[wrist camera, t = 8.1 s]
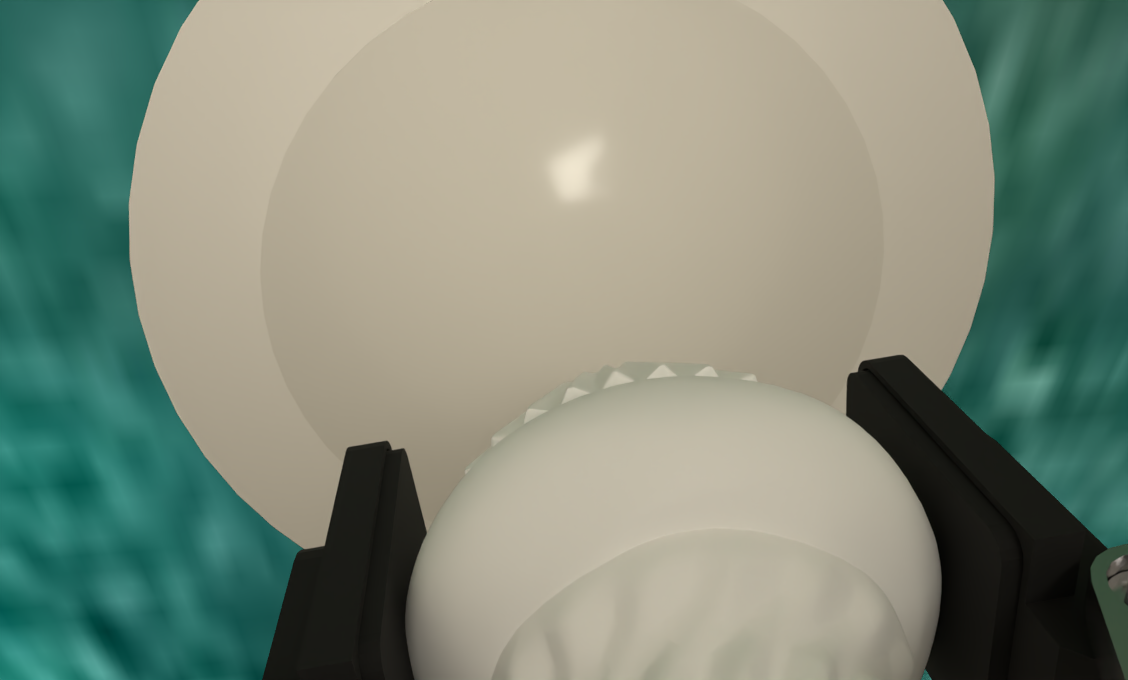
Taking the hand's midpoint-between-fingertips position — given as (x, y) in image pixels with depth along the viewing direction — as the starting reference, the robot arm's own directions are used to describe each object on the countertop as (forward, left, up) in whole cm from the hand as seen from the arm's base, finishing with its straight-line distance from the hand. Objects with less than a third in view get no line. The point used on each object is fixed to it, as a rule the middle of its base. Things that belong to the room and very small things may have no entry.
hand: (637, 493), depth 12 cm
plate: (0, 0, -8) cm, 8 cm away
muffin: (0, 0, -1) cm, 1 cm away
